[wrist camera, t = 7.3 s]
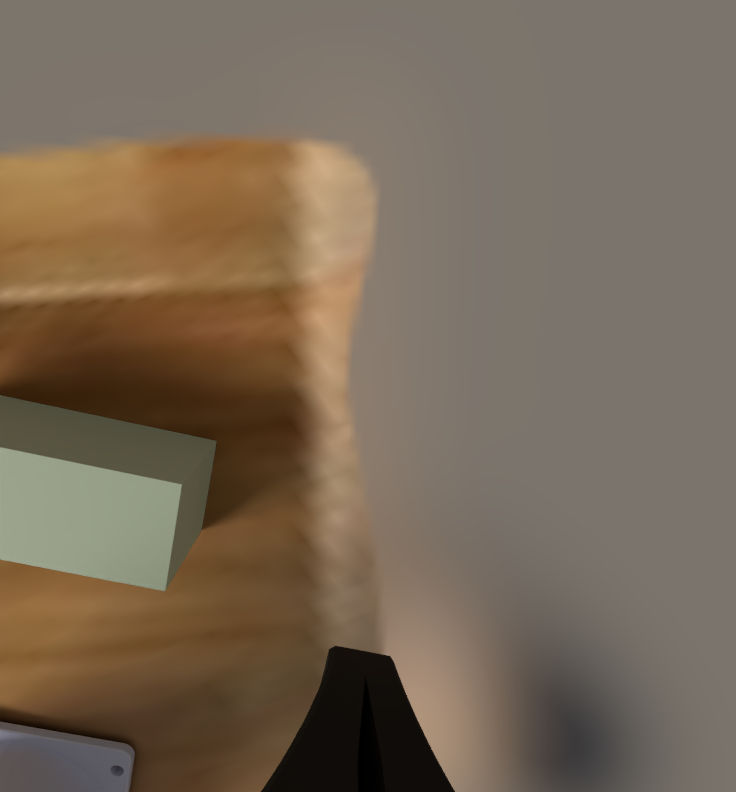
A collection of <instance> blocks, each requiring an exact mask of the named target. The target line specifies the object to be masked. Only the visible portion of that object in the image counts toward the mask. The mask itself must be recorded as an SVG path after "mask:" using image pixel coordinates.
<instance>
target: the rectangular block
mask: <svg viewBox="0 0 736 792" xmlns="http://www.w3.org/2000/svg"><path fill="white" fill-rule="evenodd" d="M216 443H217V441H215V440H210V439H206V438H201V437H196V436H191V435H187V434H182V433H177V432H172V431H168V430H163V429H158V428H153V427H149V426H144V425H139V424H134V423H130V422H125V421H120V420H115V419H111V418H106V417H101V416H96V415H92V414H87V413H82V412H78V411H73V410H68V409H63V408H59V407H54V406H49V405H44V404H40V403H35V402H30V401H25V400H21V399H16V398H11V397H6V396H2V395H0V559H1V560H6V561H11V562H16V563H22V564H27V565H32V566H37V567H42V568H47V569H53V570H58V571H63V572H68V573H73V574H79V575H84V576H89V577H94V578H99V579H104V580H110V581H115V582H120V583H125V584H130V585H135V586H141V587H146V588H151V589H156V590H161V591H166V589H167V587H168V586H169V584H170V582H171V581H172V579H173V577H174V576H175V574H176V572H177V571H178V569H179V567H180V566H181V564H182V562H183V561H184V559H185V557H186V556H187V554H188V552H189V551H190V549H191V547H192V546H193V544H194V542H195V540H196V539H197V537H198V535H199V534H200V532H201V530H202V526H203V520H204V514H205V508H206V502H207V496H208V490H209V484H210V479H211V473H212V467H213V461H214V455H215V449H216Z"/></svg>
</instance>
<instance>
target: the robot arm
mask: <svg viewBox="0 0 736 792" xmlns="http://www.w3.org/2000/svg"><path fill="white" fill-rule="evenodd" d="M134 757H135V753H134V750H133V748H132V747H131V746H129V745H128V744H125V743H120V742H114V741H109V740H103V739H97V738H91V737H86V736H80V735H74V734H69V733H63V732H57V731H51V730H46V729H40V728H34V727H28V726H23V725H17V724H11V723H6V722H0V792H129V790H130V784H131V777H132V770H133V764H134ZM118 766H120V767H118ZM261 792H455V791H454V789H453V788H452V786H451V784H450V782H449V781H448V779H447V777H446V776H445V773H444V772H443V770H442V768H441V766H440V764H439V763H438V761H437V759H436V757H435V755H434V753H433V751H432V750H431V747H430V745H429V743H428V741H427V739H426V737H425V735H424V733H423V731H422V729H421V727H420V725H419V722H418V721H417V718H416V716H415V714H414V711H413V709H412V707H411V705H410V702H409V700H408V698H407V695H406V693H405V690H404V688H403V685H402V683H401V680H400V678H399V675H398V673H397V670H396V667H395V664H394V662H393V660H392V658H391V657H390V656H386V655H381V654H376V653H371V652H365V651H360V650H355V649H349V648H344V647H339V646H334V647H333V648H331V649H329V652H328V657H327V661H326V665H325V669H324V673H323V677H322V682H321V685H320V687H319V690H318V692H317V695H316V697H315V699H314V701H313V703H312V705H311V708H310V710H309V712H308V714H307V716H306V718H305V720H304V722H303V724H302V726H301V728H300V729H299V731H298V733H297V735H296V737H295V738H294V740H293V742H292V744H291V746H290V747H289V749H288V751H287V753H286V754H285V756H284V757H283V759H282V761H281V762H280V764H279V766H278V767H277V769H276V770H275V772H274V773H273V775H272V776H271V778H270V779H269V781H268V782H267V784H266V785H265V787H264V788H263V790H262V791H261Z"/></svg>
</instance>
